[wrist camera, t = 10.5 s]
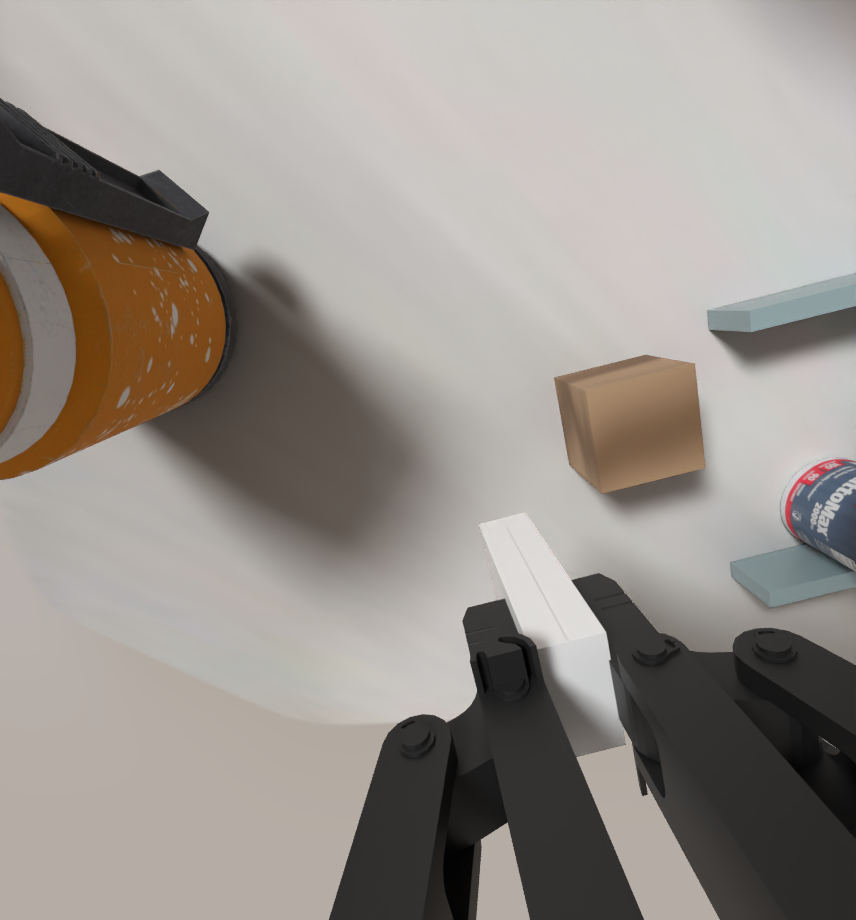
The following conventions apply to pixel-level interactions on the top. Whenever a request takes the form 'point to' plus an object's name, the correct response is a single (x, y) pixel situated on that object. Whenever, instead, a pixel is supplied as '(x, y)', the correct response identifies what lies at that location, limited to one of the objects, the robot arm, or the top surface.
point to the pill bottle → (824, 508)
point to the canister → (97, 298)
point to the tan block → (631, 421)
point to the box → (803, 565)
